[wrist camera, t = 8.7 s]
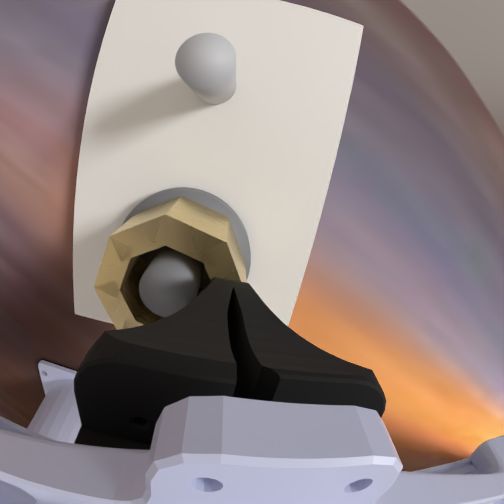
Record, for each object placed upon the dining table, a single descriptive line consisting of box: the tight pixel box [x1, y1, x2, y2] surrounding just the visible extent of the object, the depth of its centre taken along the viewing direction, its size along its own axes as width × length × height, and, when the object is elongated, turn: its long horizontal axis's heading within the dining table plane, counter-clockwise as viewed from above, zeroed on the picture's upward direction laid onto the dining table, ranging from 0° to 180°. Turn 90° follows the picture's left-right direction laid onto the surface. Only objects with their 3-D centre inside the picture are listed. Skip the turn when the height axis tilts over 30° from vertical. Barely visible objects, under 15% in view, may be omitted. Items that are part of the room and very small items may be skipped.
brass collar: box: [94, 196, 247, 330], centre depth 13 cm, size 5×5×4 cm
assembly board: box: [73, 0, 363, 326], centre depth 12 cm, size 18×12×6 cm, turn 168°
